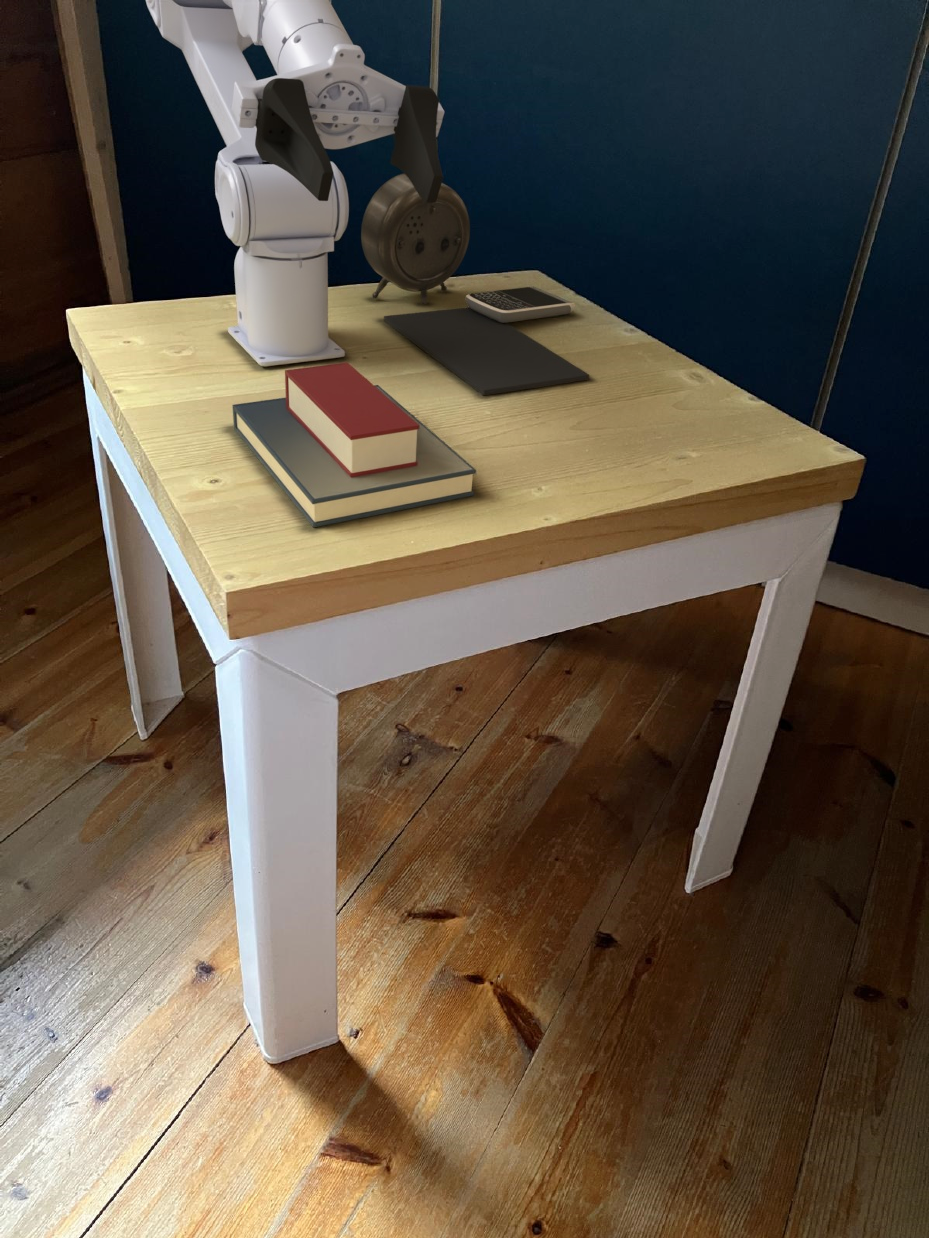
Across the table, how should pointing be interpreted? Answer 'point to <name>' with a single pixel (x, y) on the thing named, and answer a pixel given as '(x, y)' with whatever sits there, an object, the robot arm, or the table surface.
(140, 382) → the table surface
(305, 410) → the top book
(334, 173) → the robot arm
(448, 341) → the mat
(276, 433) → the bottom book
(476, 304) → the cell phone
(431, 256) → the alarm clock
